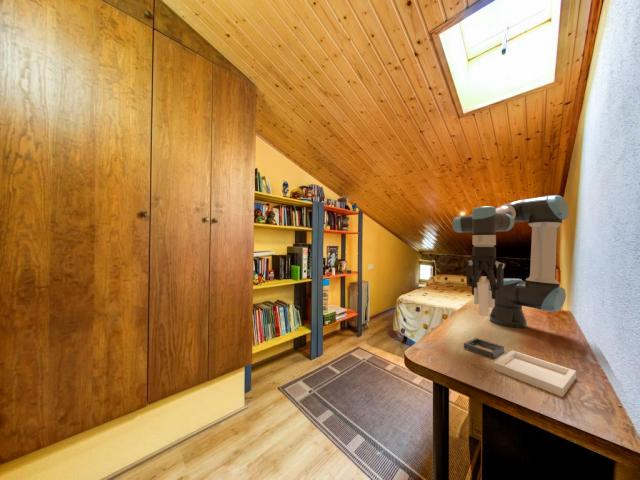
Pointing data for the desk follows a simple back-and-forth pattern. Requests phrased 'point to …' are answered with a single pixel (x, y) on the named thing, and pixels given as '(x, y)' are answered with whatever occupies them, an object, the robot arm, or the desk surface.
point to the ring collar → (493, 354)
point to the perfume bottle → (483, 296)
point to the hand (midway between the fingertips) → (484, 305)
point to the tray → (536, 372)
